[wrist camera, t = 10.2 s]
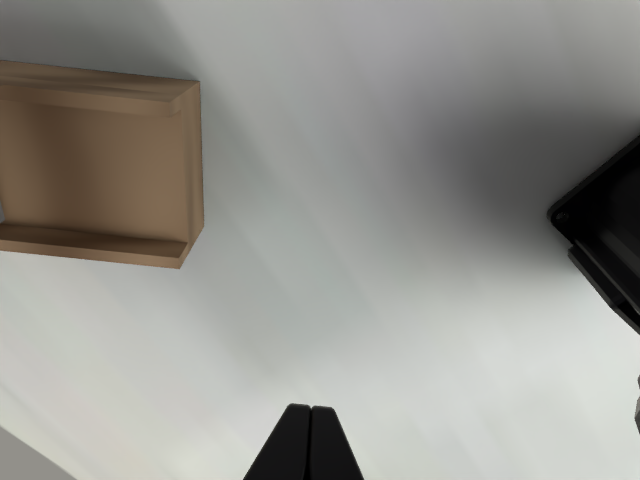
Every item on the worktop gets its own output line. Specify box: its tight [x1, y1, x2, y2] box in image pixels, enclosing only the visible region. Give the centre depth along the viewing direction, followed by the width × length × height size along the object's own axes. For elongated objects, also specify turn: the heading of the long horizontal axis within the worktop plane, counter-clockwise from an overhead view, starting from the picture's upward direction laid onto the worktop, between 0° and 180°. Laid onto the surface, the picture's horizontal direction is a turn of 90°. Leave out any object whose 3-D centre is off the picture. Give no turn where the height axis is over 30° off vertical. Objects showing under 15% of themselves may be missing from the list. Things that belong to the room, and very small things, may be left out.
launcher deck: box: [0, 60, 204, 269], centre depth 18 cm, size 8×6×4 cm
